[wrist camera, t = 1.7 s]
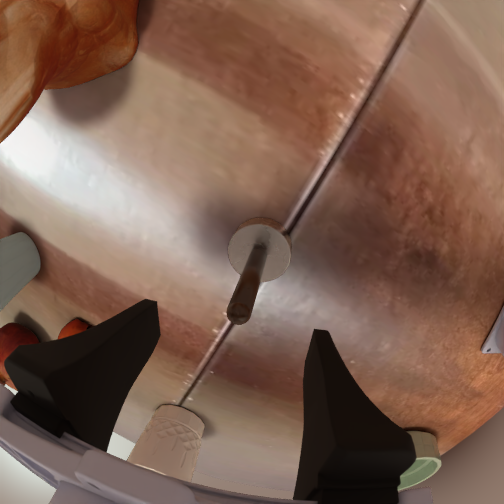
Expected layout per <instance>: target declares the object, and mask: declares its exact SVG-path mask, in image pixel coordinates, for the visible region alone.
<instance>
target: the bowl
mask: <svg viewBox="0 0 504 504" xmlns="http://www.w3.org/2000/svg"><path fill="white" fill-rule="evenodd" d="M406 432H407V433H409V434H410V435H411V436H412V439H413V442H414V446H415V451H416V456H417V458H416V461H415V462H414V463H413V465H412V466H411V467H410V468H409V469H408V470H407V471H405V472H404V473H403V474H402V475H401V476H400V480H401V484H400V486H397V487H398V491H399V490H402V489H405V488H409V487H411V486H414V485H416V484H418V483H420V482H422V481H424V480H425V479H427V478H429V477H431V476H432V475H433V474H434V473H436V472H437V471H438V469H439V468H440V466H441V459H440V454H439V450H438V445H437V441H436V437H435V436H433V435H432V434H430V433H426V432H420V431H406Z"/></svg>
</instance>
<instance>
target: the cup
mask: <svg viewBox="0 0 504 504" xmlns="http://www.w3.org/2000/svg"><path fill="white" fill-rule="evenodd" d="M39 270H40V256H39V253H38V250H37V248H36V246H35V244H34V242H33V241H32V239H31V238H30V237H29V236H28V235H27V234H25V233H23V232H19V233H16V234H13V235H10V236H8V237H5V238H2V239H0V311H1V310H2V309H3V308H4V307H5V306H6V305H7V304H8V303H9V302H10V301H11V300H12V299H13V297H14V296H15V295H16V294H17V293H18V292H19V291H20V290H21V289H22V288H23V287H24V286H25V285H26V284H27V283H29V282H30V281H31V280H32V279H33V278H34V277H35V276H36V275H37V274H38V272H39Z"/></svg>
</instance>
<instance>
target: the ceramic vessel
mask: <svg viewBox="0 0 504 504" xmlns="http://www.w3.org/2000/svg"><path fill="white" fill-rule="evenodd" d="M139 1H140V0H0V143H1V142H2V141H3V140H4V139H6V138H7V137H8V136H9V135H10V134H11V133H12V132H13V131H14V130H15V128H16V127H17V126H18V125H19V124H20V123H21V121H22V120H23V119H24V118H25V116H26V115H27V114H28V113H29V111H30V110H31V108H32V107H33V106H34V104H35V103H36V101H37V100H38V98H39V97H40V95H41V93H42V91H43V89H45V90H47V89H61V88H69V87H73V86H76V85H80V84H83V83H85V82H88V81H91V80H93V79H96V78H98V77H100V76H103V75H105V74H108V73H111V72H113V71H116V70H118V69H120V68H122V67H124V66H125V65H127V64H128V63H129V62H130V61H131V60H132V58H133V56H134V54H135V52H136V50H137V46H138V34H137V28H136V24H137V10H138V5H139Z"/></svg>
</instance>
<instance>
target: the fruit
mask: <svg viewBox="0 0 504 504" xmlns="http://www.w3.org/2000/svg"><path fill="white" fill-rule="evenodd" d="M37 343H40V342H39V340H38V339H37V337H36V336H35V334H34V333H33V332H32V331H31V330H29V329H28V328H26V327H24V326H23V325H21V324H19V323H8V324H6V325H4V326H3V327H1V328H0V384H2V385H3V386H5V384H7V385H8V386H10V387H11V388H13V389H15V390H17V389H16V387H15V386H14V384H13V382H12V381H11V379H10V377H9V375H8V374H7V372H6V370H5V366H4V360H5V359H6V358H7V357H8V356H9V355H10V354H11V353H12V352H13V351H14V350H15V349H16V348H17V347H18V346H19V345H27V344H37Z"/></svg>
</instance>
